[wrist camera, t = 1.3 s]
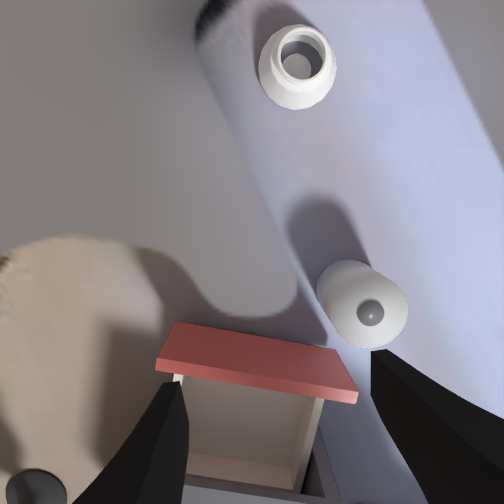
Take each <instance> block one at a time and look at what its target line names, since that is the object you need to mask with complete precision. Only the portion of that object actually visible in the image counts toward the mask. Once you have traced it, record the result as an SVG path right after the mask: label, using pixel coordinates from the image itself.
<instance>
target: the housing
mask: <svg viewBox="0 0 504 504" xmlns="http://www.w3.org/2000/svg"><path fill="white" fill-rule="evenodd" d="M181 504H342V501H341V498H340V495H339V491H338V488H337V485H336V481H335V478H334V475H333V472H332V468H331V465H330V462H329V458H328V455H327V452H326V449H325V445H324V442H323V439H322V435H321V432H320V429H319V426H317V430H316V434H315V438H314V442H313V446H312V450H311V453H310V457H309V461H308V465H307V469H306V473H305V477H304V481H303V485H302V488H301V492H300V494H297V493H290V492H284V491H277V490H271V489H264V488H258V487H251V486H245V485H238V484H232V483H225V482H219V481H212V480H206V479H199V478H193V477H186V476H185V481H184V488H183V495H182V501H181Z"/></svg>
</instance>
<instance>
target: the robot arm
mask: <svg viewBox="0 0 504 504" xmlns="http://www.w3.org/2000/svg"><path fill="white" fill-rule="evenodd" d="M371 397H372V399H373V402H374V404H375V406H376V409H377V411H378V413H379V415H380V418H381V420H382V422H383V424H384V425H385V427H386V429H387V431H388V432H389V434H390V436H391V437H392V439H393V441H394V443H395V444H396V446H397V448H398V449H399V451H400V453H401V454H402V456H403V458H404V460H405V461H406V463H407V465H408V466H409V468H410V470H411V471H412V473H413V475H414V477H415V478H416V480H417V482H418V484H419V486H420V487H421V489H422V491H423V493H424V495H425V497H426V499H427V501H428V504H504V419H502V418H500V417H498V416H496V415H494V414H492V413H490V412H488V411H486V410H484V409H482V408H480V407H478V406H476V405H474V404H472V403H470V402H469V401H467V400H465V399H463V398H461V397H460V396H458V395H456V394H455V393H453V392H451V391H449V390H448V389H446V388H444V387H443V386H441V385H440V384H438V383H436V382H435V381H433V380H432V379H430V378H429V377H427V376H426V375H424V374H423V373H421V372H420V371H418V370H417V369H415V368H414V367H412V366H411V365H409V364H408V363H406V362H405V361H403V360H402V359H401V358H399V357H398V356H396V355H395V354H393V353H392V352H390V351H389V350H387V349H384V350H377V351H371ZM188 452H189V419H188V415H187V411H186V406H185V402H184V397H183V393H182V388H181V384H180V381H174V382H167V383H163V384H162V385H161V387H160V388H159V390H158V392H157V393H156V395H155V397H154V398H153V400H152V402H151V403H150V405H149V407H148V408H147V410H146V411H145V413H144V415H143V416H142V418H141V419H140V421H139V422H138V424H137V425H136V427H135V428H134V430H133V431H132V433H131V434H130V435H129V437H128V438H127V440H126V441H125V442H124V444H123V445H122V446H121V448H120V449H119V451H118V452H117V453H116V454H115V456H114V457H113V458H112V460H111V461H110V462H109V463H108V465H107V466H106V467H105V468H104V469H103V470H102V472H101V473H100V474H99V475H98V476H97V478H96V479H95V480H94V481H93V482H92V483H91V484H90V485H89V486H88V487H87V488H86V490H85V491H84V492H83V493H82V494H81V495H80V496H79V497H78V498H77V499H76V500H75V501H74V502H73V503H72V504H181V501H182V495H183V488H184V481H185V474H186V467H187V460H188Z"/></svg>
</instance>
